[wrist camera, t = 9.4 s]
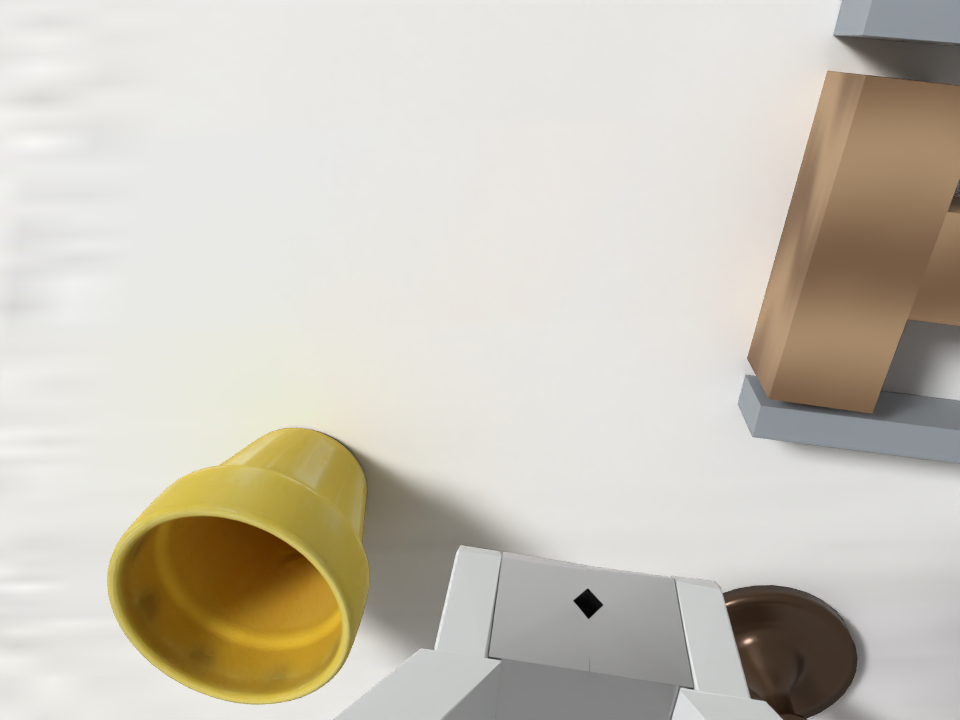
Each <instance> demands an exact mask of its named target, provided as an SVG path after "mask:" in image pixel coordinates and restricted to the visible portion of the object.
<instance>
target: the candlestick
mask: <svg viewBox="0 0 960 720" xmlns="http://www.w3.org/2000/svg"><path fill="white" fill-rule="evenodd" d="M723 597H724V601H725V604H726V608H727V612H728V616H729V619H730V623H731V627H732V630H733V634H734V638H735V642H736V645H737V649H738V653H739V656H740V660H741V664H742V668H743V671H744V675H745V679H746V682H747V686H748V690H749V694H750V697H751V699H754V700H760V701H765V702H766V703H767V704H768V705H769V706H770V707H771V708H772V709H773V710H774V711H775V712H776V713H777V714H778V715H779V716H780V717H781V718H782V719H783V720H807V719H806V718H808V717H811V716H813V715H816V714H818V713H820V712H822V711H823V710H825V709H826V708H828V707H829V706H831V705H833V704H834V703H835V702H836V701H837V700H838V699H839V698H840V697H841V696H842V695H843V694H844V693H845V691H846V690H847V689H848V687H849V686H850V684H851V683H852V680H853V678H854V675H855V673H856V667H857V653H856V648H855V644H854V642H853V640H852V638H851V635H850V633H849V631H848V629H847V627H846V625H845V623H844V621H843V619H842V618H841V617H840V616H839V615H838V613H837V612H836V611H835V610H834V609H833V608H832V607H830V606H829V605H828V604H826V603H825V602H824V601H822V600H821V599H819V598H817V597H815V596H813V595H811V594H809V593H806V592H803V591H800V590H796V589H793V588H788V587H781V586H773V585H769V586H750V587H744V588H738V589H735V590H732V591H729V592H725V593H723Z"/></svg>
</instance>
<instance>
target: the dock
mask: <svg viewBox="0 0 960 720" xmlns="http://www.w3.org/2000/svg"><path fill="white" fill-rule="evenodd" d="M834 35H836V36H848V37H860V38H872V39H884V40H896V41H908V42H920V43H932V44H943V45H955V46H960V0H842V4H841V8H840V12H839V16H838V20H837V23H836V27H835V31H834ZM738 405H739V408H740V410H741V412H742V414H743V417H744V419H745V421H746V424H747V426H748V428H749V430H750V433H751V435H752V437H756V438H764V439H772V440H780V441H787V442H795V443H803V444H811V445H819V446H827V447H835V448H842V449H850V450H858V451H866V452H874V453H882V454H890V455H897V456H905V457H913V458H921V459H929V460H937V461H944V462H952V463H960V401H957V400H949V399H941V398H933V397H924V396H916V395H908V394H900V393H891V392H883V391H880V394H879V397H878V399H877V402H876V405H875V407H874V410H873V413H865V412H857V411H850V410H843V409H836V408H829V407H822V406H815V405H808V404H800V403H793V402H786V401H779V400H772V399H768V397H767V395H766V393H765V391H764V389H763V387H762V385H761V383H760V382H759V380H758V378H757V376H751V375H745V379H744V383H743V387H742V391H741V394H740V398H739V402H738Z"/></svg>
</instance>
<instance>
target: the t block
mask: <svg viewBox="0 0 960 720" xmlns="http://www.w3.org/2000/svg"><path fill="white" fill-rule="evenodd" d="M959 180H960V86H959V85H951V84H944V83H936V82H926V81H917V80H908V79H899V78H889V77H880V76H871V75H862V74H852V73H843V72H834V71H827V74H826V78H825V81H824V85H823V89H822V92H821V96H820V99H819V103H818V107H817V110H816V114H815V117H814V121H813V124H812V128H811V132H810V135H809V139H808V142H807V146H806V149H805V153H804V157H803V160H802V164H801V167H800V171H799V175H798V178H797V182H796V185H795V189H794V192H793V196H792V200H791V203H790V207H789V210H788V214H787V218H786V221H785V225H784V228H783V232H782V235H781V239H780V243H779V246H778V250H777V253H776V257H775V261H774V264H773V268H772V271H771V275H770V278H769V282H768V286H767V289H766V293H765V296H764V300H763V304H762V307H761V311H760V314H759V318H758V321H757V325H756V329H755V332H754V336H753V339H752V343H751V346H750V350H749V354H748V357H747V359H748V361H749V363H750V365H751V367H752V368H753V370H754V372H755V374H756V376H757V378H758V380H759V382H760V383H761V385H762V387H763V389H764V391H765V393H766V395H767V397H768V399H772V400H779V401H786V402H793V403H800V404H808V405H815V406H822V407H829V408H836V409H843V410H850V411H857V412H865V413H873V410H874V407H875V405H876V402H877V399H878V397H879V394H880V391H881V389H882V386H883V383H884V381H885V378H886V375H887V373H888V370H889V367H890V365H891V362H892V359H893V356H894V354H895V351H896V348H897V346H898V343H899V340H900V338H901V335H902V332H903V330H904V327H905V324H906V322H907V319H909V320H917V321H925V322H932V323H940V324H948V325H955V326H960V197H955V196H954V193H955V190H956V188H957V185H958V182H959Z"/></svg>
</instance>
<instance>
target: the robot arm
mask: <svg viewBox="0 0 960 720" xmlns="http://www.w3.org/2000/svg"><path fill="white" fill-rule="evenodd" d="M501 556H502V562H501ZM500 567H501V569H500ZM334 720H783V719H782V718H781V717H780V716H779V715H778V714H777V713H776V712H775V711H774V710H773V709H772V708H771V707H770V706H769V705H768V704H767V703H766V702H765V701H760V700H754V699H751V697H750V694H749V690H748V686H747V682H746V679H745V675H744V671H743V668H742V664H741V660H740V656H739V653H738V649H737V645H736V642H735V638H734V634H733V630H732V627H731V623H730V619H729V616H728V612H727V608H726V604H725V601H724V597H723V593H722V589H721V587H720V586H719V585H718V584H717V582H716V581H710V580H701V579H693V578H685V577H676V576H672V577H668V576H660V575H653V574H646V573H639V572H631V571H624V570H617V569H609V568H602V567H595V566H587V565H583V564H577V563H571V562H564V561H558V560H552V559H546V558H540V557H534V556H528V555H522V554H516V553H510V552H504V551H503V555H502V553H501V552H500V551H494V550H488V549H482V548H476V547H469V546H463V545H460V547H459V549H458V551H457V553H456V556H455V560H454V565H453V569H452V573H451V578H450V582H449V586H448V591H447V595H446V599H445V604H444V608H443V612H442V617H441V621H440V625H439V630H438V634H437V638H436V643H435V647H434V650H430V649H423V648H420V649H419V650H418V651H417V652H415V653H414V654H413V655H412V656H410V657H409V658H408V659H407V660H406V661H404V662H403V663H402V664H401V665H399V666H398V667H397V668H396V669H395V670H393V671H392V672H391V673H390V674H388V675H387V676H386V677H385V678H384V679H382V680H381V681H380V682H379V683H378V684H376V685H375V686H374V687H373V688H371V689H370V690H369V691H368V692H367V693H365V694H364V695H363V696H362V697H360V698H359V699H358V700H357V701H356V702H354V703H353V704H352V705H351V706H349V707H348V708H347V709H346V710H345V711H343V712H342V713H341V714H340V715H338V716H337V717H336V718H335V719H334Z"/></svg>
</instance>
